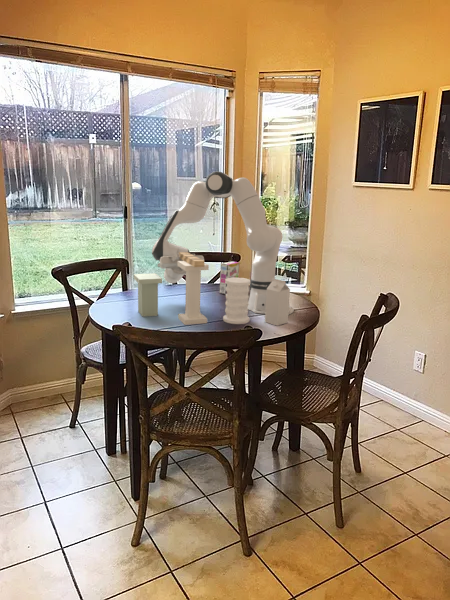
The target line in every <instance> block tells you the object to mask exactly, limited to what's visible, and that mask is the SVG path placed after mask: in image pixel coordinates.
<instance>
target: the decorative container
mask: <svg viewBox="0 0 450 600" xmlns="http://www.w3.org/2000/svg"><path fill="white" fill-rule="evenodd" d="M250 280H251V279H249V278H246V277H245V278H244V277H238V278H227V279H225V283H226V284H227V287H226V291H227V294H226V295H225V303H224V304H225V309H224V313H225V314H224V315H223V316H222V321H223V322H225V323H227V324H232V325H244V324H247V323H250V317H249V316H248V313H249V309H248V305H249V303H248V301H249V297H250V294H249V293H250Z"/></svg>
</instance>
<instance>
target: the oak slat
mask: <svg viewBox="0 0 450 600" xmlns="http://www.w3.org/2000/svg"><path fill="white" fill-rule="evenodd" d="M179 254H180V255H179V256H180V259H182V260H184V261H185V262H187V263H189V264H190V265H192V266H194V267H204V263H205V260H204V261H203V260H202V259H200V258H198V257H196V255H195V256H194V255H192V254H193V253H191V252H190V253H188V252H179Z"/></svg>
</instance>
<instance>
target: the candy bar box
mask: <svg viewBox="0 0 450 600" xmlns="http://www.w3.org/2000/svg"><path fill="white" fill-rule="evenodd" d="M239 270H240V262H239V261H238V262H237V261H228V262H221V263H220V271H219V273H220V274H219V290H218V291H219V293H218V294H222V295H225V296H226V294H227V291H226V287H227V284H226V283H225V279H227V278H239V272H240V271H239Z"/></svg>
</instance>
